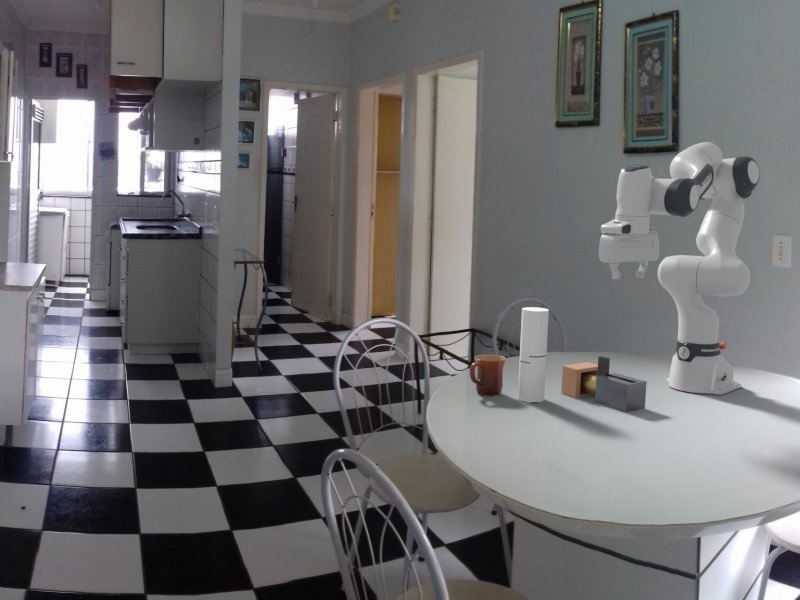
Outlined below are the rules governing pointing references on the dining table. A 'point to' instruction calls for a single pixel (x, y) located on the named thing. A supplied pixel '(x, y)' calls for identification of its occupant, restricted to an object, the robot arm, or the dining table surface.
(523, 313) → the cylindrical container
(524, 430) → the dining table surface
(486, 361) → the mug
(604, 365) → the tube
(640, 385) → the sleeve
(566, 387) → the peach pocketed block
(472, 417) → the dining table surface
